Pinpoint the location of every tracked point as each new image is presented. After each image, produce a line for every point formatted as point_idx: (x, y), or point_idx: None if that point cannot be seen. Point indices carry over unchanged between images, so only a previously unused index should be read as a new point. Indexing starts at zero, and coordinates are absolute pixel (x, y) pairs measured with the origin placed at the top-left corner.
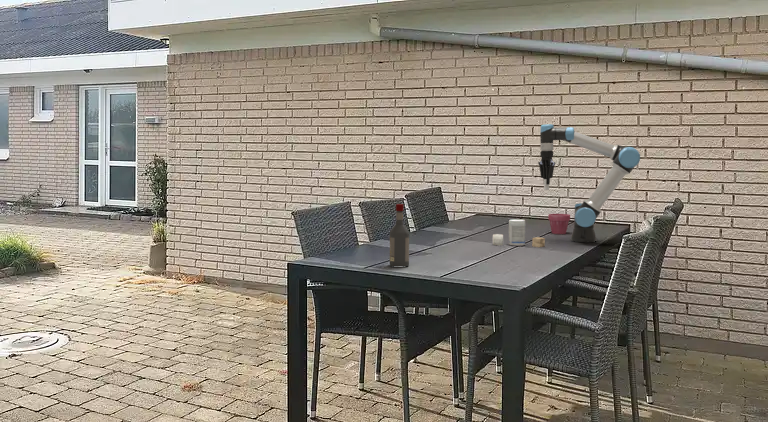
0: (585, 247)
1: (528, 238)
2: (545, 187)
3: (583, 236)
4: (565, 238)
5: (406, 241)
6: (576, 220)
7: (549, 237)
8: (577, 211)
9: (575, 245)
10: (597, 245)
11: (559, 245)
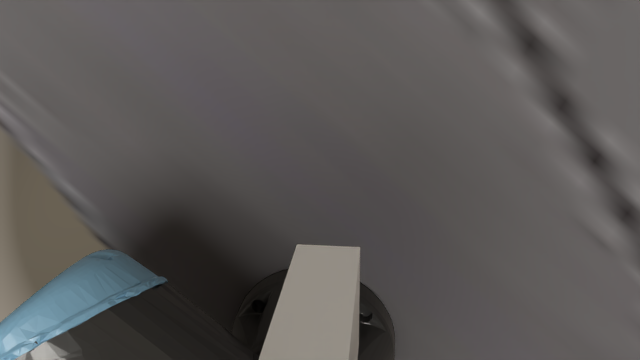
0: (77, 149)
1: (631, 103)
2: (291, 278)
3: (260, 318)
4: (468, 331)
5: None
6: (103, 251)
7: (571, 278)
8: (48, 302)
9: (172, 156)
10: None
11: (209, 55)
